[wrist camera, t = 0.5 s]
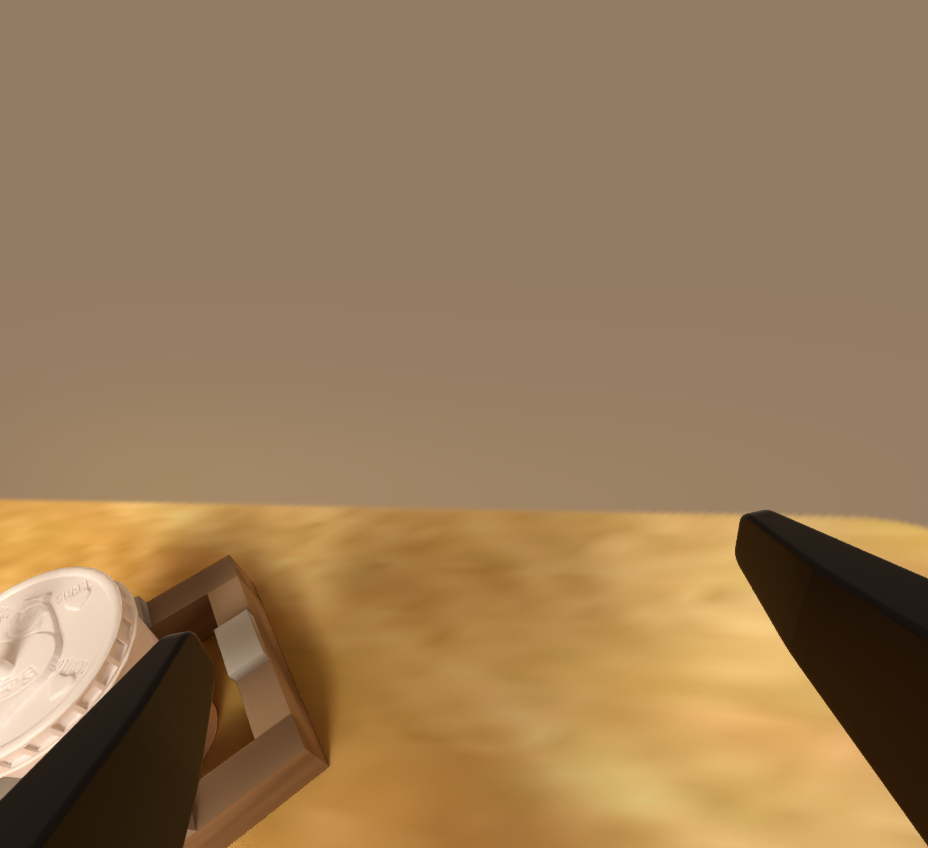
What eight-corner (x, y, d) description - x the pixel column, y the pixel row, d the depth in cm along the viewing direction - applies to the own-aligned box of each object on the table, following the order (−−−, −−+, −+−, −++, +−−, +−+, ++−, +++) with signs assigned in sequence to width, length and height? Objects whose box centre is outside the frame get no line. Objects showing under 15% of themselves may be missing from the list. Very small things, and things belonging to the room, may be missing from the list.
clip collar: (329, 766, 21) (298, 743, 18) (50, 986, 17) (-38, 997, 14) (253, 583, 27) (222, 547, 25) (42, 711, 24) (-20, 685, 21)
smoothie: (81, 853, 19) (-386, 784, 10) (119, 687, 24) (-172, 526, 14) (243, 796, 20) (-39, 677, 10) (250, 645, 25) (58, 465, 15)
